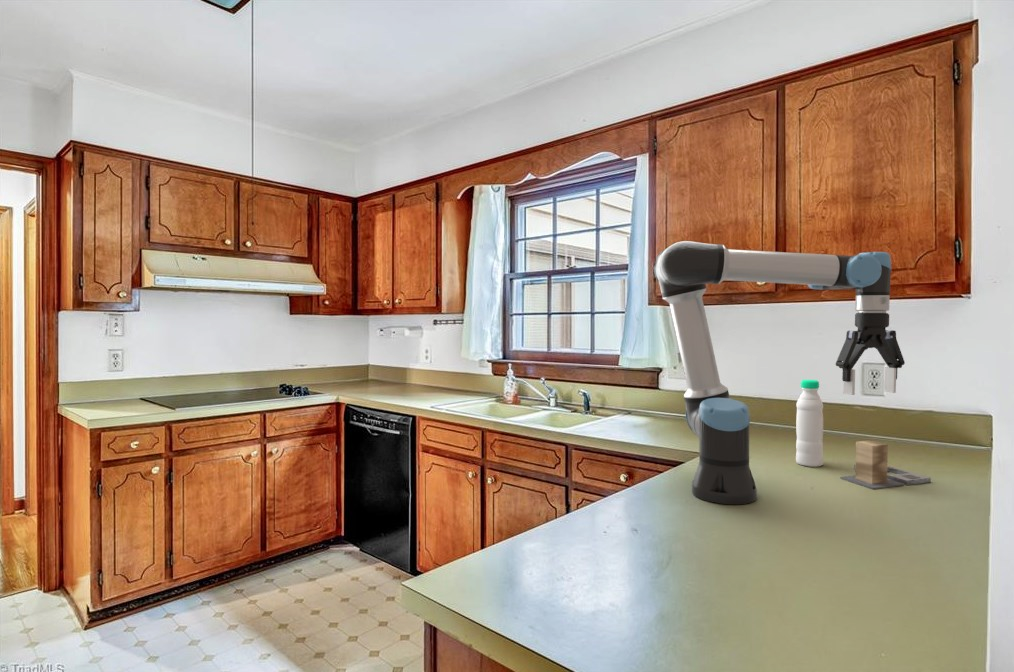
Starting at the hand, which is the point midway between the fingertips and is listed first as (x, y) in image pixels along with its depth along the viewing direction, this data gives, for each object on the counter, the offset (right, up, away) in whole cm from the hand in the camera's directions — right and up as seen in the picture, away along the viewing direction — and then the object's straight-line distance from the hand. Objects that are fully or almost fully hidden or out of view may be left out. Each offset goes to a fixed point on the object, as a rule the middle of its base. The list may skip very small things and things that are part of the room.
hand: (869, 393), depth 149 cm
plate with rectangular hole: (+10, -23, +7) cm, 26 cm away
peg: (+1, -23, +1) cm, 23 cm away
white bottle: (-6, -23, +19) cm, 31 cm away
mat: (+1, -24, +1) cm, 24 cm away
